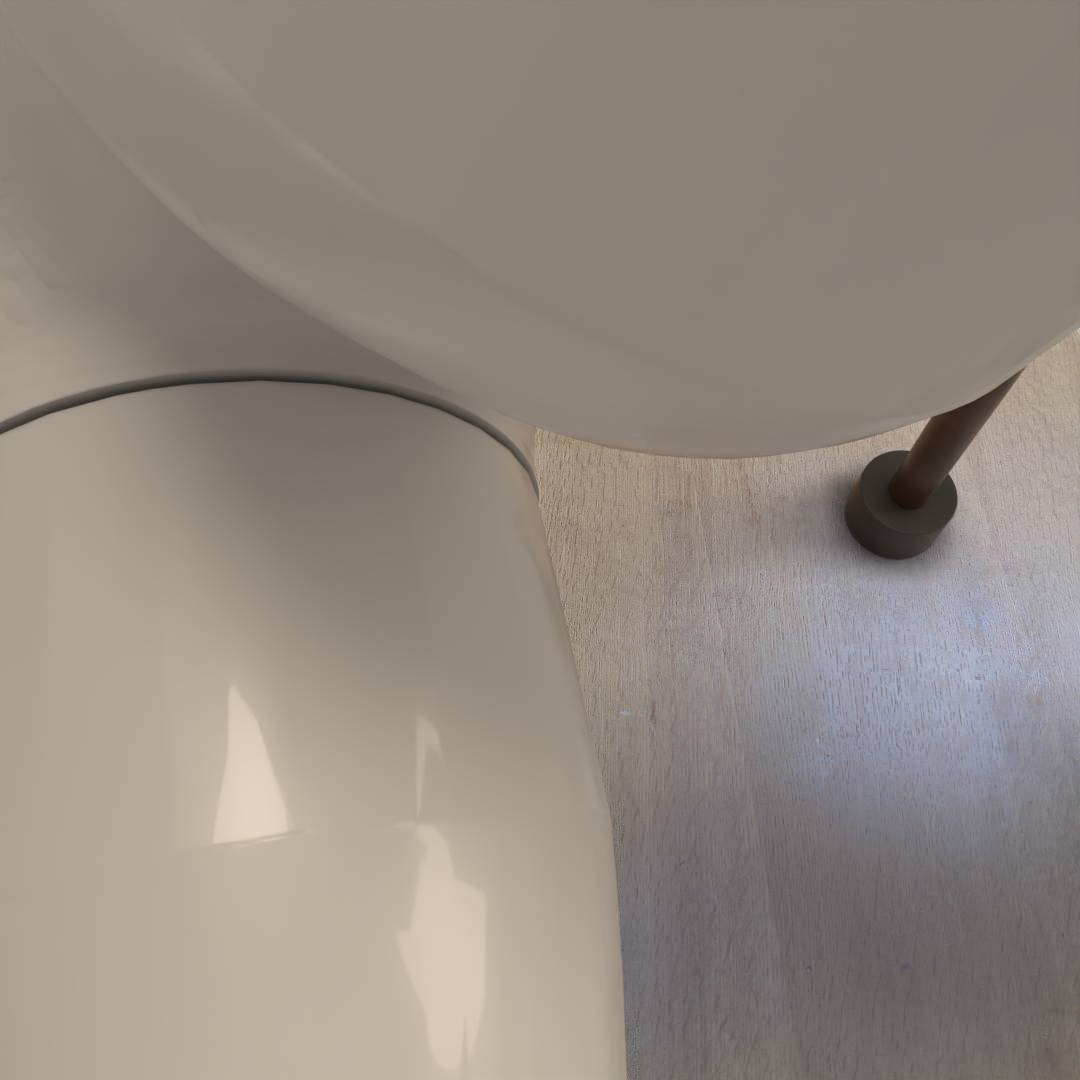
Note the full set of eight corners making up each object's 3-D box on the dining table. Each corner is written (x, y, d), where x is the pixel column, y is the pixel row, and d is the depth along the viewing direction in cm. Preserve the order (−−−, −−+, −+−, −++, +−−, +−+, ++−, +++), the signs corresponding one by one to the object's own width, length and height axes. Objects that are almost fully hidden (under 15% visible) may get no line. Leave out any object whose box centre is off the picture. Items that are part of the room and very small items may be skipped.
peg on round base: (918, 574, 56) (1077, 382, 40) (830, 532, 57) (950, 328, 41) (951, 502, 58) (1114, 291, 42) (865, 462, 59) (992, 242, 43)
